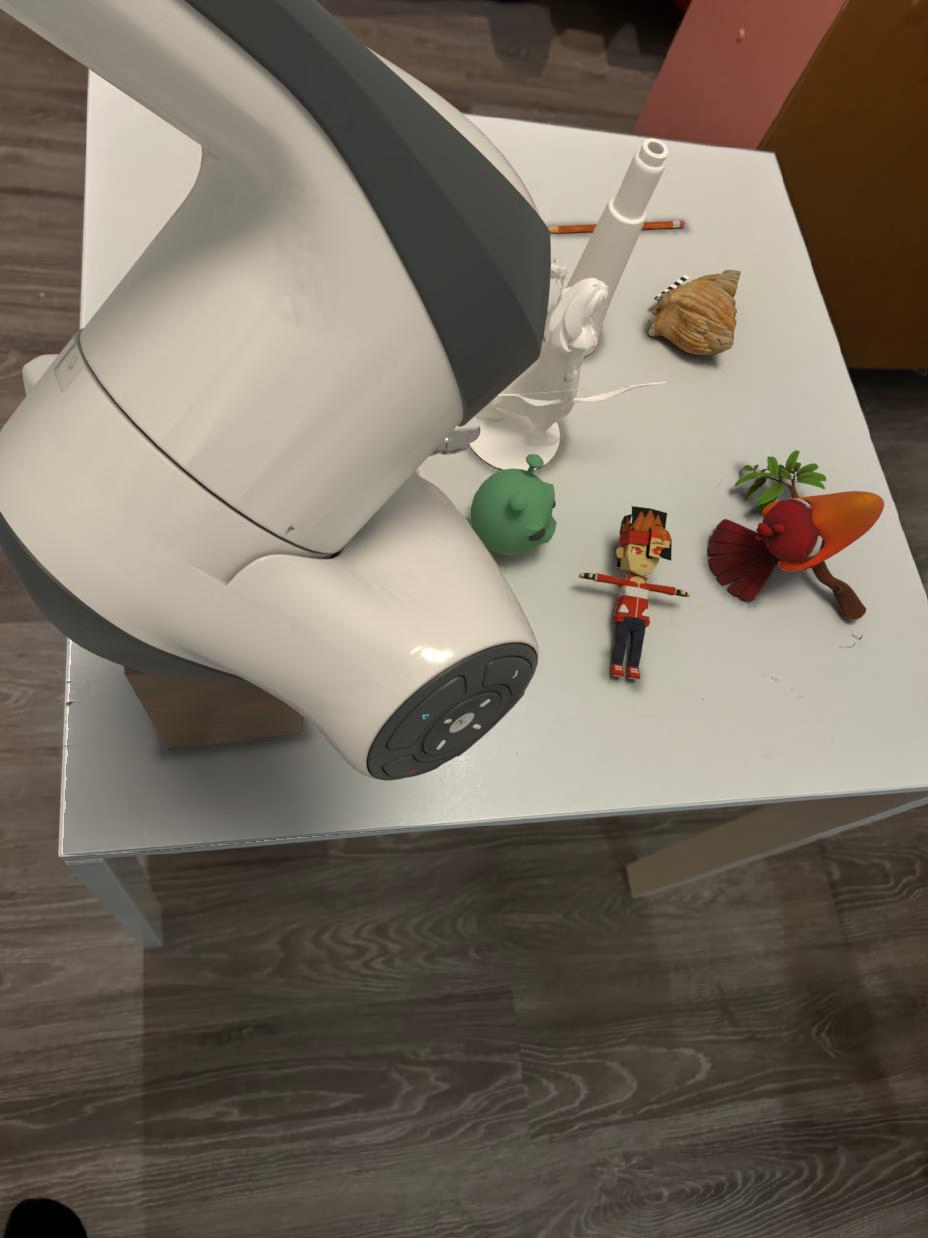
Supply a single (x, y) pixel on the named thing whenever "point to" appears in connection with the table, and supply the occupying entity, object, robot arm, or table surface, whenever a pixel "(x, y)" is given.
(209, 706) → the stand
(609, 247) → the cosmetic bottle
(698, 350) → the fossil
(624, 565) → the toy
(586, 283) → the female figurine
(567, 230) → the pencil
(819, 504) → the bird figurine
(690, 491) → the table surface
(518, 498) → the alien toy
